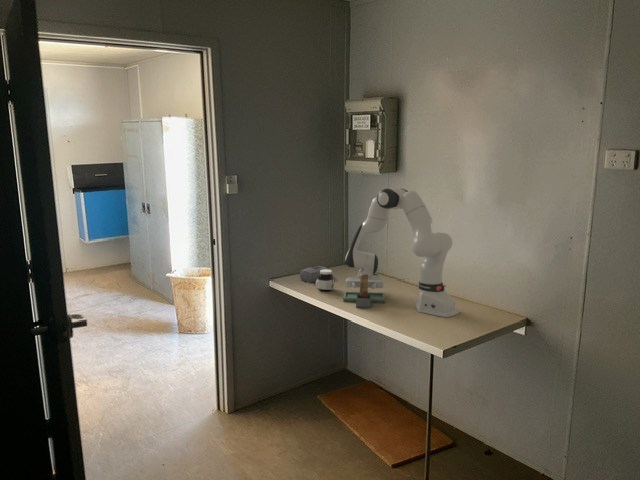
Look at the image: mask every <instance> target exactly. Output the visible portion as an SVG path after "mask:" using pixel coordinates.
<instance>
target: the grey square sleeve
mask: <svg viewBox="0 0 640 480" xmlns="http://www.w3.org/2000/svg"><path fill="white" fill-rule="evenodd" d="M371 307H372V303H371V295H368V298H360V294H357V296H356V302H355V308H356V309H372V308H371Z"/></svg>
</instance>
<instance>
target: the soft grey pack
mask: <svg viewBox="0 0 640 480" xmlns="http://www.w3.org/2000/svg"><path fill="white" fill-rule="evenodd" d="M323 269H328V270H331V269H330V268H328V267H327V266H320V265H314V266H313V265H312V266H309V267H307V268H304V269H302V270H300V271H299V278H300V280H301V281H303V282H306V283H316V280H317V279H318V277H319V275H320V270H323Z"/></svg>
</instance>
